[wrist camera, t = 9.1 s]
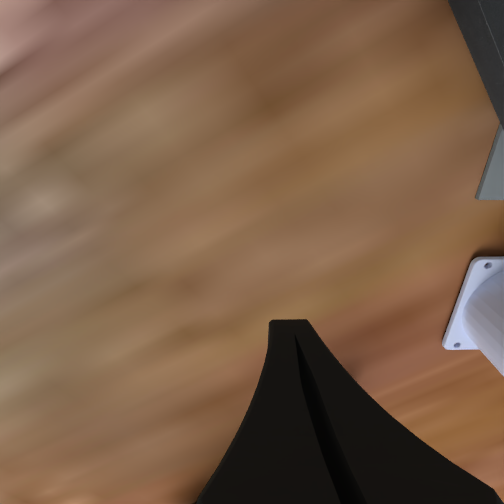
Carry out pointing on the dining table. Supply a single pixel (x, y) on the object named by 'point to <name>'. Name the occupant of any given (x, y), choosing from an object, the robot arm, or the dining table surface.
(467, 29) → the ammunition clip
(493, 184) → the mat
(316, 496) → the robot arm
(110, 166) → the dining table surface
